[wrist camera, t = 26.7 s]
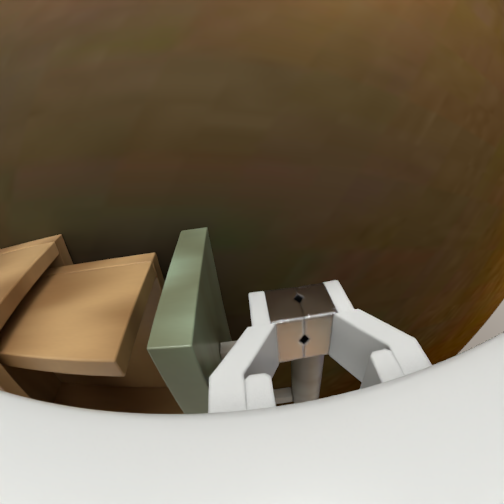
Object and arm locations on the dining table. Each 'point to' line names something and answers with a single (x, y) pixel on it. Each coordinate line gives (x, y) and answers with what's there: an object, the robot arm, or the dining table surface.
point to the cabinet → (25, 282)
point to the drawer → (131, 335)
